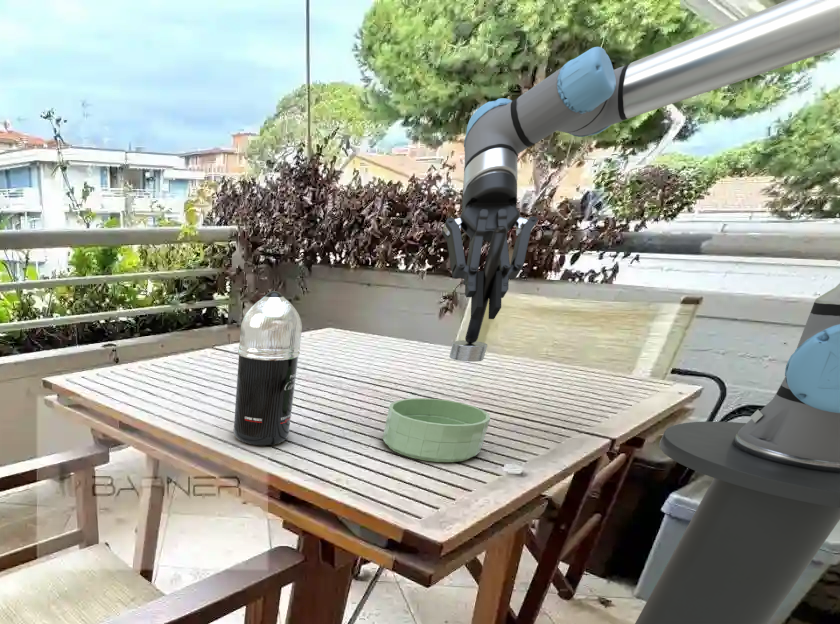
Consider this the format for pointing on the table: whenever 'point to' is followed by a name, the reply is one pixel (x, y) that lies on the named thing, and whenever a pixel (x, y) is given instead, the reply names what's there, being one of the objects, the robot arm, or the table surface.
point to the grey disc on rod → (471, 347)
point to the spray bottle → (267, 371)
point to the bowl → (435, 429)
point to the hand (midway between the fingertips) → (485, 313)
